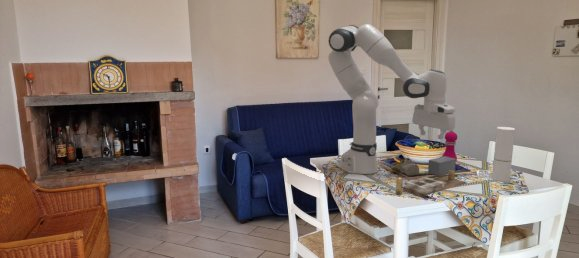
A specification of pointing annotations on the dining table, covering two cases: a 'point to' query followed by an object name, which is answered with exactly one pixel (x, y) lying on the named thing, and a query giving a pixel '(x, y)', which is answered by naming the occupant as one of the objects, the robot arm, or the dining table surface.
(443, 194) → the dining table surface
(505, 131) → the cylindrical container
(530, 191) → the dining table surface
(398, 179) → the brass pin
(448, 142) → the pepper mill
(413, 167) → the ceramic sculpture
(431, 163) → the housing
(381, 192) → the dining table surface
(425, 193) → the board
